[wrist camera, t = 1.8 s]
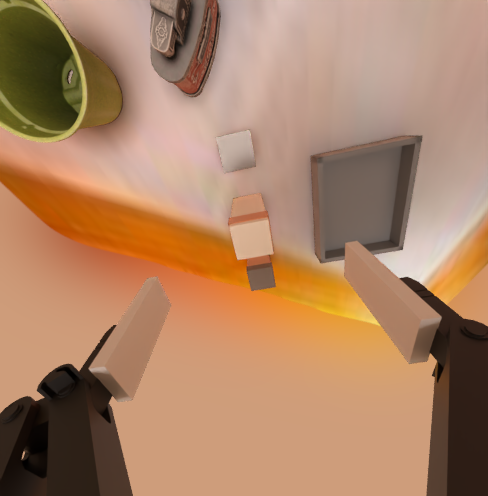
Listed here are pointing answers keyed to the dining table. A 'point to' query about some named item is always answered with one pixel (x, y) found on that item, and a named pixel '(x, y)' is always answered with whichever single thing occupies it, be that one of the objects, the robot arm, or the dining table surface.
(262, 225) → the block
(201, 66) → the lighter
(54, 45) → the plant pot
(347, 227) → the tray
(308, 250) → the dining table surface
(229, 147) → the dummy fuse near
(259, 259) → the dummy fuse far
